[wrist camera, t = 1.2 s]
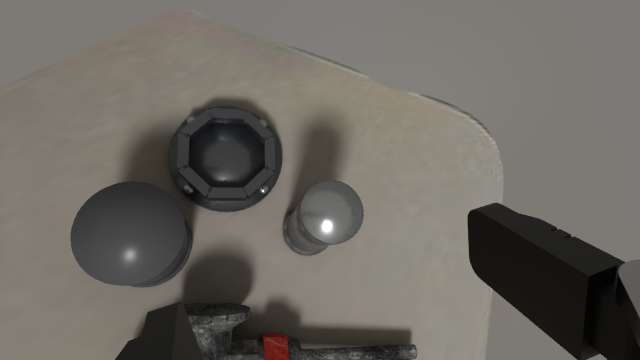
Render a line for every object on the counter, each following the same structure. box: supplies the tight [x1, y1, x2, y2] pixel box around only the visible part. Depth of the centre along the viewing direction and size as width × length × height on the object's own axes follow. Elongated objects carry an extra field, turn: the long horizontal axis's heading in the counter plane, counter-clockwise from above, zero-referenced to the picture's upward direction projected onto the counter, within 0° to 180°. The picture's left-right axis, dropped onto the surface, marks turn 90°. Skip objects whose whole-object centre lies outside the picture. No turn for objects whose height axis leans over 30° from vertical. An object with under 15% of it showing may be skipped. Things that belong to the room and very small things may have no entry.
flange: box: [169, 106, 282, 212], centre depth 38 cm, size 11×11×2 cm
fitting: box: [283, 180, 363, 256], centre depth 35 cm, size 5×5×10 cm
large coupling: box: [71, 182, 192, 287], centre depth 32 cm, size 8×8×8 cm
